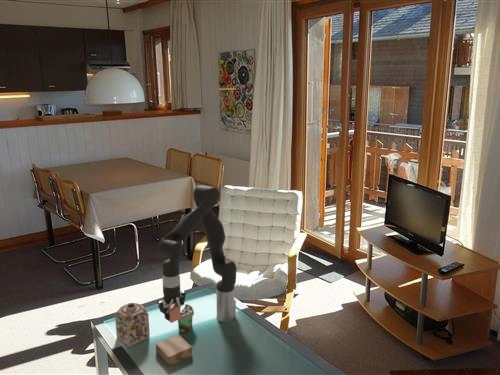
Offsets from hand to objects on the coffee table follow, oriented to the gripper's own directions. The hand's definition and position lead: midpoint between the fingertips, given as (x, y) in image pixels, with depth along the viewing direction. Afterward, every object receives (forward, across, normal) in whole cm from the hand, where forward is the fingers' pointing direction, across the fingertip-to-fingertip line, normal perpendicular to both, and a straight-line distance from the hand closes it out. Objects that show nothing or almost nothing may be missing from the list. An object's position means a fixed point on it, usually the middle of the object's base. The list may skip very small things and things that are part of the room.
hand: (172, 316), depth 200 cm
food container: (+20, -17, -12) cm, 29 cm away
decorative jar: (+20, +7, -24) cm, 32 cm away
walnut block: (+20, 0, 0) cm, 20 cm away
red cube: (+1, 0, 0) cm, 1 cm away
